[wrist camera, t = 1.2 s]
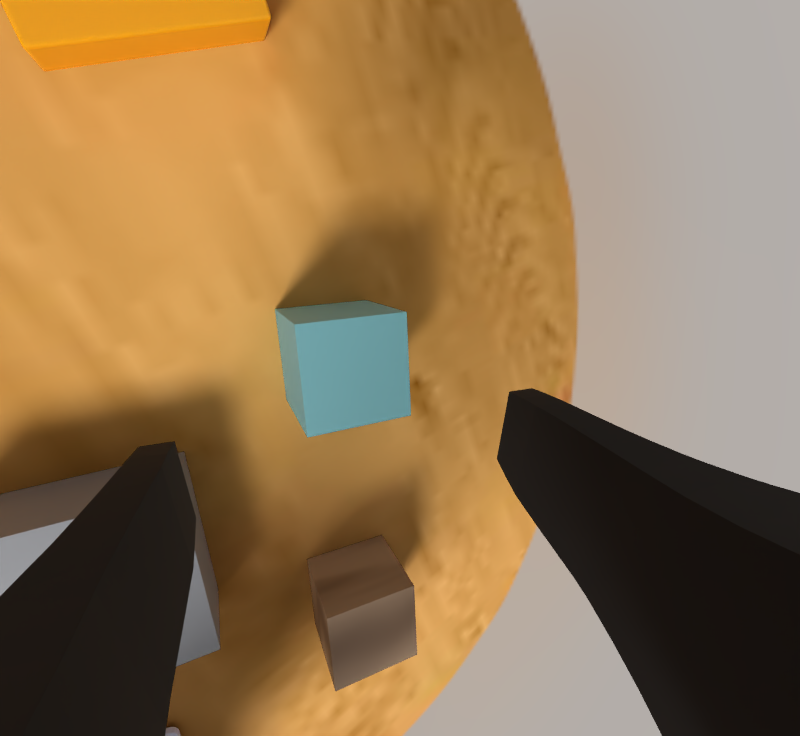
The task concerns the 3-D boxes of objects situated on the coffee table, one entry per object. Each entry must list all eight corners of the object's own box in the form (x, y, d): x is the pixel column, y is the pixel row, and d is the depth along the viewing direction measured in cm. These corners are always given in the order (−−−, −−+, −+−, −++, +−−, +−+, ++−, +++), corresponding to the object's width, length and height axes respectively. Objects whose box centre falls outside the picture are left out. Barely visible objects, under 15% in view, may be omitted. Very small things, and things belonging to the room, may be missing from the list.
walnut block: (385, 595, 27) (417, 654, 23) (314, 622, 25) (335, 691, 21) (381, 534, 25) (414, 585, 22) (306, 558, 24) (327, 618, 20)
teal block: (371, 383, 23) (410, 415, 18) (286, 398, 21) (307, 437, 17) (365, 299, 22) (406, 311, 17) (274, 309, 20) (294, 324, 15)
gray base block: (218, 586, 22) (220, 648, 19) (30, 651, 19) (-10, 740, 16) (184, 448, 20) (179, 491, 16) (-35, 499, 17) (-99, 563, 13)
